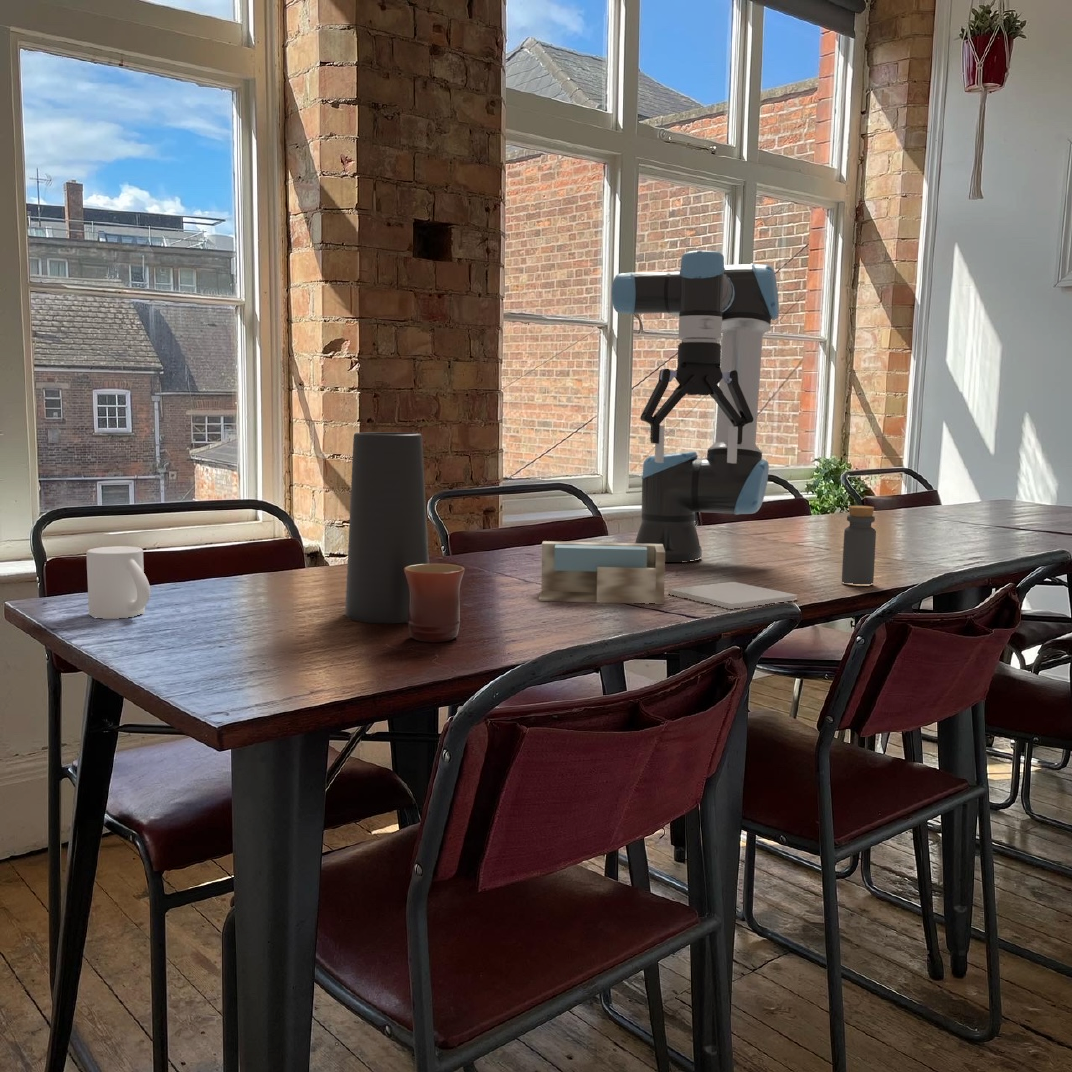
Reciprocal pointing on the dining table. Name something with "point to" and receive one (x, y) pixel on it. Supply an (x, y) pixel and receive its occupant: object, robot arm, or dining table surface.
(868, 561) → the bottle
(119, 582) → the mug
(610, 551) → the bar
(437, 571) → the mug
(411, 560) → the vase
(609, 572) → the block
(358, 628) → the dining table surface
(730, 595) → the tile
